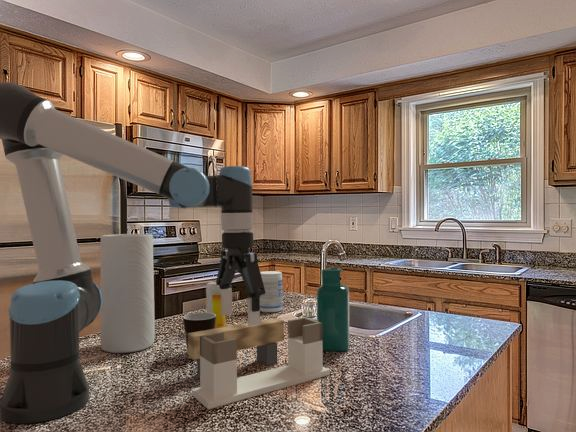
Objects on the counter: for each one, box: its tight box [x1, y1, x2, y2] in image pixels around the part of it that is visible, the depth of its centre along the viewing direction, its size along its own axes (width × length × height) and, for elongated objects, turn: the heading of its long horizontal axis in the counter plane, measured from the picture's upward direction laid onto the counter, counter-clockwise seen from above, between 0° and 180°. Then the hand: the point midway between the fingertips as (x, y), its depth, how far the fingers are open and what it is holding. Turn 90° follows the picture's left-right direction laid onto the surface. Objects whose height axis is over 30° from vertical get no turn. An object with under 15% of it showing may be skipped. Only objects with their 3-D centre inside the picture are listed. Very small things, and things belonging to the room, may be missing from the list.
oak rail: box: [187, 317, 285, 360], centre depth 103 cm, size 24×4×5 cm, turn 125°
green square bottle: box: [316, 267, 351, 352], centre depth 119 cm, size 10×8×22 cm
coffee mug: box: [182, 312, 216, 354], centre depth 116 cm, size 12×9×10 cm
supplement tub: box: [260, 270, 284, 313], centre depth 166 cm, size 10×10×15 cm
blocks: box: [196, 342, 278, 377], centre depth 103 cm, size 19×5×5 cm, turn 125°
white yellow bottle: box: [205, 281, 227, 329], centre depth 139 cm, size 6×6×15 cm
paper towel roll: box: [99, 233, 156, 354], centre depth 121 cm, size 14×14×32 cm
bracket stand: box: [191, 316, 331, 410], centre depth 93 cm, size 30×8×12 cm, turn 125°
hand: (239, 319), depth 103 cm, fingers open, 13 cm apart
